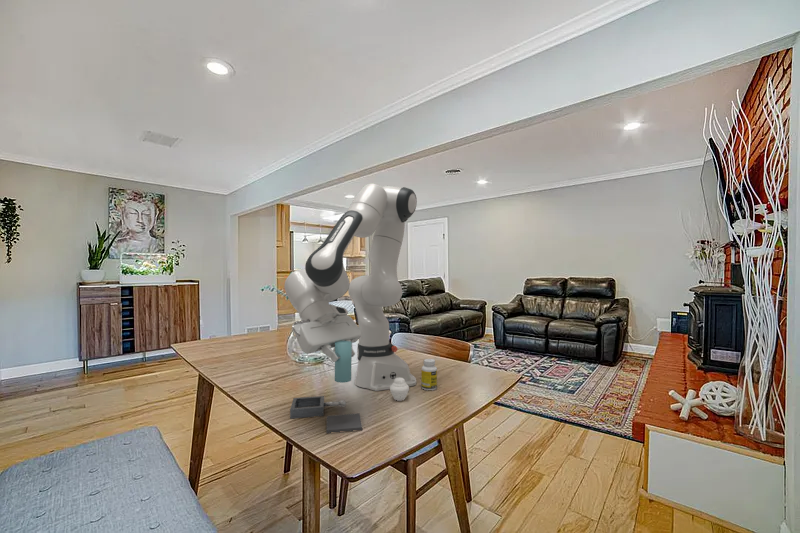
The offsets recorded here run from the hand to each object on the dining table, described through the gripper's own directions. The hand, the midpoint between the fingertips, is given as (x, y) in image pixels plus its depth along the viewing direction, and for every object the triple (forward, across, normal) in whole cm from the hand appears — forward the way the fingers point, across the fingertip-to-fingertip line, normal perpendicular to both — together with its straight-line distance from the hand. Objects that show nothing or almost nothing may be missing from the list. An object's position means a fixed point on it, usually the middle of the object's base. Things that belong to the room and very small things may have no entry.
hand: (345, 358), depth 94 cm
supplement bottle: (+16, +38, +9) cm, 42 cm away
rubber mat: (+12, 0, +13) cm, 18 cm away
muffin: (+14, +24, +11) cm, 30 cm away
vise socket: (+3, +3, +22) cm, 22 cm away
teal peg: (+4, 0, +5) cm, 6 cm away
